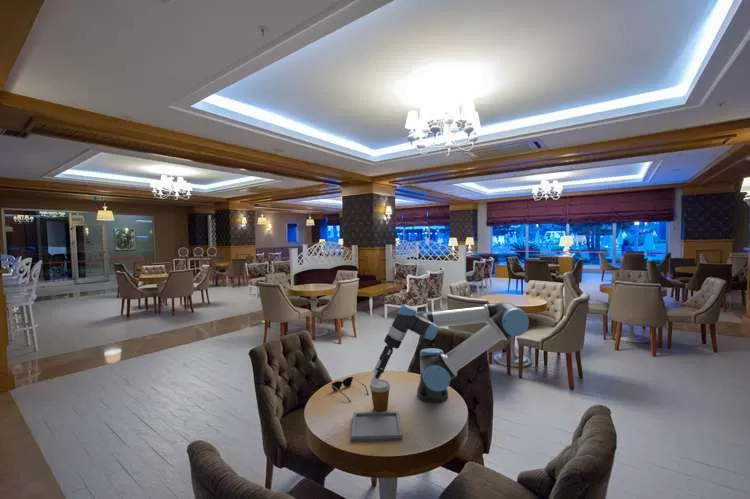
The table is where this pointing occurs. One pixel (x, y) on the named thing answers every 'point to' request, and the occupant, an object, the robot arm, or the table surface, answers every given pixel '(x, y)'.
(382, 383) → the disposable coffee cup
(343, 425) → the table surface
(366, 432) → the serving tray
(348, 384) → the sunglasses
